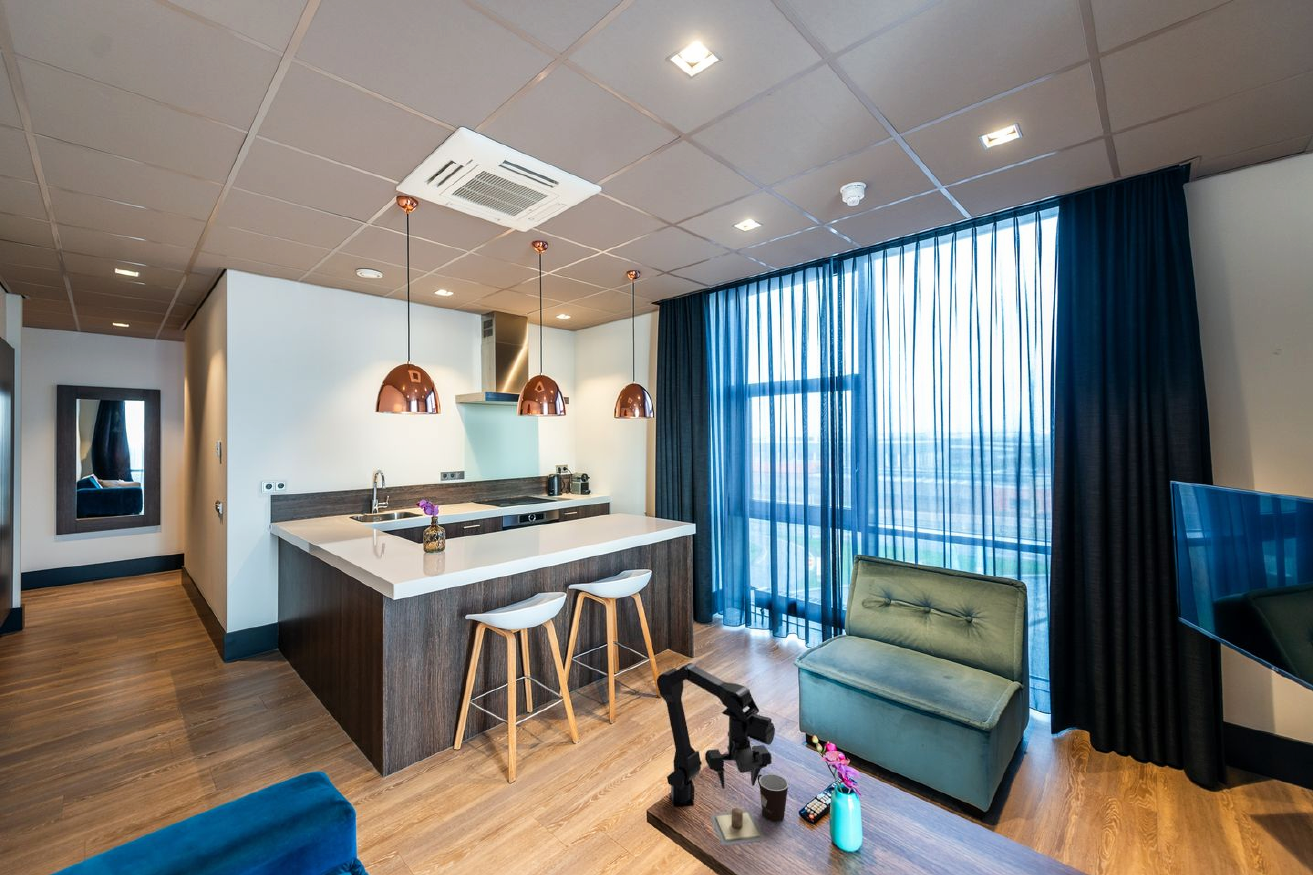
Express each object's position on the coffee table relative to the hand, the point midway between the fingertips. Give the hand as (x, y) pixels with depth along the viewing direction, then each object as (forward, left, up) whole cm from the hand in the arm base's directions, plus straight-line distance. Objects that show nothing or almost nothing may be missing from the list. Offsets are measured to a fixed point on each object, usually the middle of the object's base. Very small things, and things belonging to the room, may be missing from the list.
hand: (737, 786), depth 161 cm
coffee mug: (+13, +5, -12) cm, 18 cm away
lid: (0, 0, -12) cm, 12 cm away
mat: (0, 0, -12) cm, 12 cm away
